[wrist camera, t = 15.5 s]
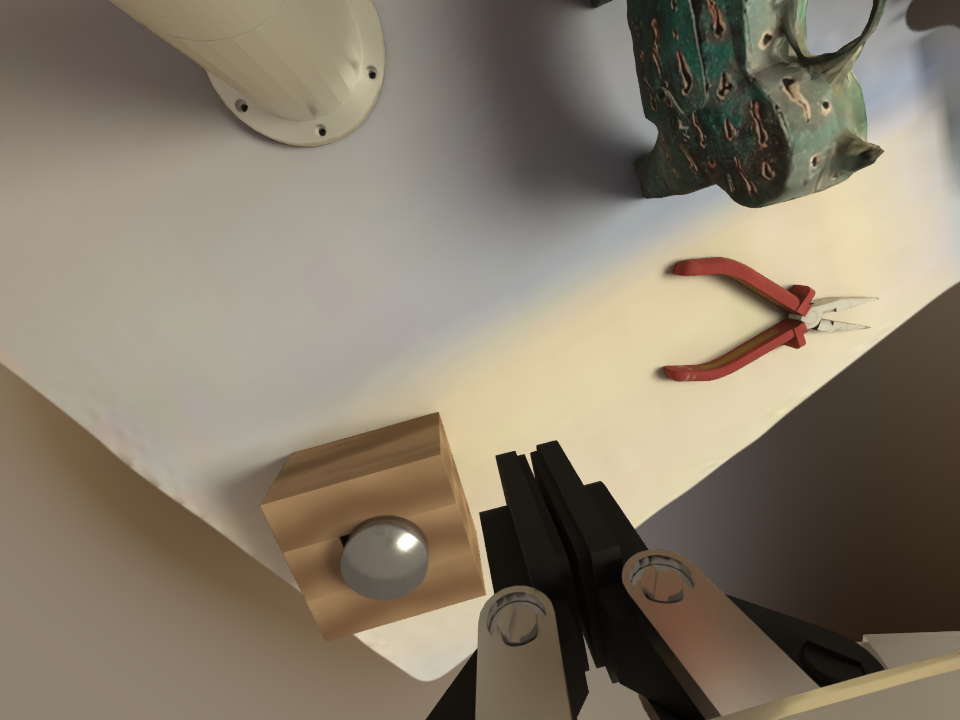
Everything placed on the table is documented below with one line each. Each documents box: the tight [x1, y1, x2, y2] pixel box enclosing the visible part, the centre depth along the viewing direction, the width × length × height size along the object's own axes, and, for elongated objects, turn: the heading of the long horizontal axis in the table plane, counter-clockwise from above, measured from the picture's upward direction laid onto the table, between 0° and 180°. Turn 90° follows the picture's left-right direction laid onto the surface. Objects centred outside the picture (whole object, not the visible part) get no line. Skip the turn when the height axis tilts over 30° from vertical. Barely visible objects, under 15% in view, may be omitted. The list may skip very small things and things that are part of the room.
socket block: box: [260, 412, 486, 642], centre depth 39 cm, size 14×14×8 cm
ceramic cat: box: [591, 0, 888, 208], centre depth 26 cm, size 20×6×20 cm, turn 23°
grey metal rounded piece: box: [341, 515, 428, 600], centre depth 38 cm, size 7×7×9 cm
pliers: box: [665, 257, 879, 381], centre depth 41 cm, size 12×20×3 cm, turn 92°
